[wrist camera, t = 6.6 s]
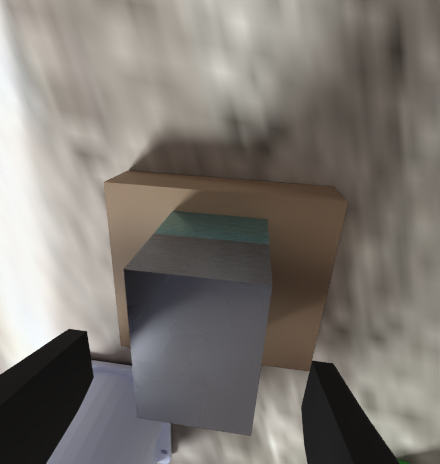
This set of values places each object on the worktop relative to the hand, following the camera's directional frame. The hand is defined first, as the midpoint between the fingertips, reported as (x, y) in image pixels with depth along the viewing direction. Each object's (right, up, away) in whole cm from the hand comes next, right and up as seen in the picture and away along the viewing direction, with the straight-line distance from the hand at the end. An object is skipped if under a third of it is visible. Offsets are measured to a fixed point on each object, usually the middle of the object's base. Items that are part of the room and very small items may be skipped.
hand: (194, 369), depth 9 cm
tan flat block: (+1, +3, +7) cm, 7 cm away
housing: (+1, +2, +4) cm, 5 cm away
